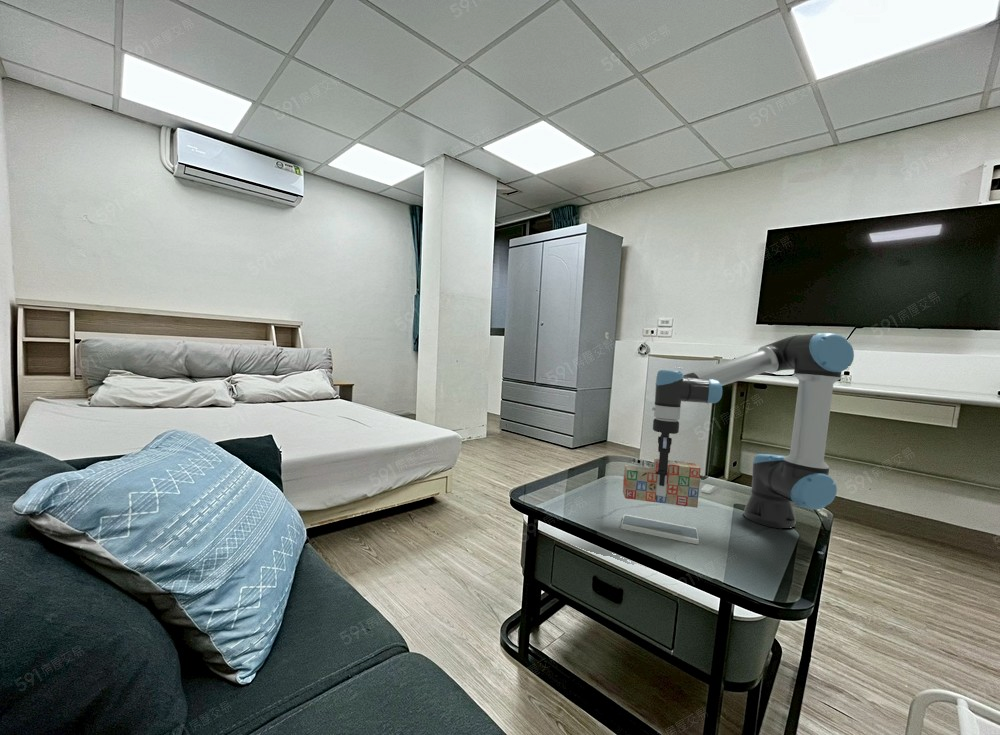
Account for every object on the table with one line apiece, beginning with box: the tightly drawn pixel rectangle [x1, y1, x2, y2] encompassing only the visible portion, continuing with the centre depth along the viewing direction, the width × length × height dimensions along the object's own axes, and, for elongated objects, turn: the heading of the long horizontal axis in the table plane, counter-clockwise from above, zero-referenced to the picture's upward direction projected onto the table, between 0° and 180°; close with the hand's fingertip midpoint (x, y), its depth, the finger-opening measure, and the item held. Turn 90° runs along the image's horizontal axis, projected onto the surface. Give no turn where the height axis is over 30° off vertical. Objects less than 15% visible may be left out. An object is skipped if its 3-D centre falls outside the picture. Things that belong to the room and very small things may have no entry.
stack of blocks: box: [622, 458, 701, 509], centre depth 127 cm, size 21×6×12 cm, turn 80°
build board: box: [620, 513, 700, 545], centre depth 127 cm, size 22×10×1 cm, turn 67°
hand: (661, 491), depth 127 cm, fingers closed on stack of blocks, 7 cm apart
